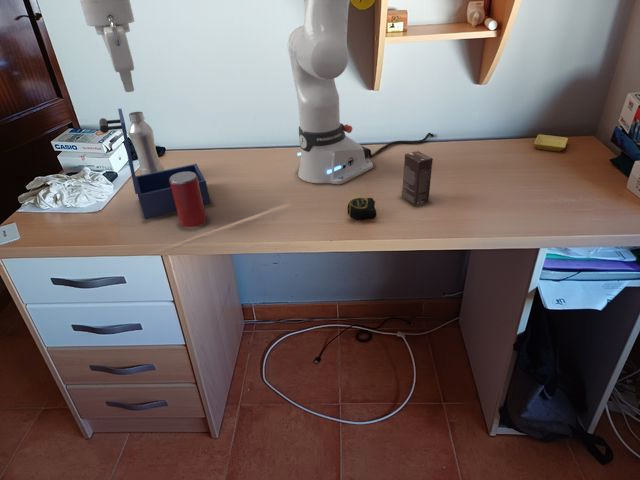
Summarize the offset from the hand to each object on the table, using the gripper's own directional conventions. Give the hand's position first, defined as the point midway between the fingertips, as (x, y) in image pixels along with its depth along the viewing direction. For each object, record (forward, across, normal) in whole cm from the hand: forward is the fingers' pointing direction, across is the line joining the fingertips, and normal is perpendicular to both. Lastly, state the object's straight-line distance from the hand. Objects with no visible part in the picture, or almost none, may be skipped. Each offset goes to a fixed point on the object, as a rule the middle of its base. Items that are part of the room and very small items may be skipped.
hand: (127, 86), depth 95 cm
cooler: (+33, +7, -4) cm, 34 cm away
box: (+32, -23, -60) cm, 72 cm away
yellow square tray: (+31, -14, -115) cm, 120 cm away
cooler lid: (+16, +7, +3) cm, 18 cm away
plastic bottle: (+33, +26, -1) cm, 42 cm away
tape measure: (+32, -23, -45) cm, 60 cm away
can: (+33, -6, -7) cm, 34 cm away
